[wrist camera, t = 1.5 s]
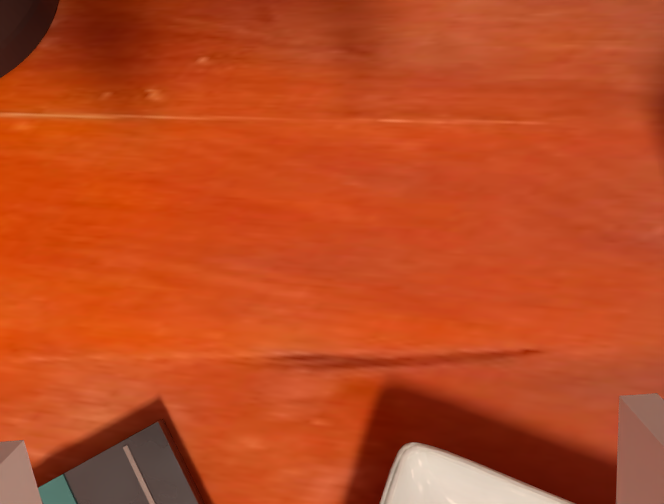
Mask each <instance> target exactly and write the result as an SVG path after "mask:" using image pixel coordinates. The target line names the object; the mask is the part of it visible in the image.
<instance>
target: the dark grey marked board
mask: <svg viewBox="0 0 664 504" xmlns="http://www.w3.org/2000/svg"><path fill="white" fill-rule="evenodd" d="M38 491H39V494H40V497H41V501H42V504H205V503H204V501H203V499H202V497H201V495H200V493H199V491H198V489H197V487H196V485H195V483H194V481H193V479H192V477H191V475H190V473H189V471H188V469H187V467H186V465H185V463H184V461H183V459H182V457H181V454H180V452H179V450H178V448H177V446H176V444H175V442H174V440H173V438H172V436H171V434H170V432H169V430H168V428H167V426H166V424H165V422H164V420H163V419H162V420H160V421H158V422H156V423H154V424H153V425H151V426H149V427H147V428H145V429H143V430H142V431H140V432H138V433H136V434H134V435H133V436H131V437H129V438H127V439H125V440H124V441H122V442H120V443H118V444H116V445H115V446H113V447H111V448H109V449H107V450H106V451H104V452H102V453H100V454H98V455H97V456H95V457H93V458H91V459H89V460H87V461H86V462H84V463H82V464H80V465H78V466H77V467H75V468H73V469H71V470H69V471H68V472H66V473H64V474H62V475H60V476H59V477H57V478H55V479H53V480H51V481H49V482H48V483H46V484H44V485H42V486H40V487H39V488H38Z"/></svg>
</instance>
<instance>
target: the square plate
mask: <svg viewBox="0 0 664 504" xmlns="http://www.w3.org/2000/svg"><path fill="white" fill-rule="evenodd" d="M379 504H575V503H573V502H571V501H568V500H566V499H563V498H561V497H558V496H556V495H553V494H551V493H549V492H546V491H544V490H541V489H539V488H536V487H534V486H532V485H529V484H527V483H524V482H522V481H520V480H517V479H515V478H512V477H510V476H508V475H505V474H503V473H500V472H498V471H496V470H493V469H491V468H488V467H486V466H484V465H481V464H479V463H476V462H474V461H471V460H469V459H466V458H464V457H461V456H459V455H456V454H454V453H451V452H449V451H446V450H443V449H440V448H437V447H434V446H430V445H426V444H422V443H418V442H410V443H407V444H405V445H403V446H402V447H401V448H400V450H399V451H398V453H397V455H396V457H395V460H394V462H393V464H392V466H391V469H390V472H389V475H388V478H387V481H386V484H385V487H384V490H383V494H382V497H381V500H380V503H379Z"/></svg>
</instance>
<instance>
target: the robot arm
mask: <svg viewBox="0 0 664 504" xmlns="http://www.w3.org/2000/svg"><path fill="white" fill-rule="evenodd" d="M57 5H58V0H0V78H1V77H2V76H4V75H5V74H7V73H8V72H10V71H11V70H12V69H14V68H15V67H16V66H18V65H19V64H20V63H21V62H22V61H23V60H24V59H25V58H26V57H27V56H28V55H29V54H30V53H31V52H32V51H33V50H34V49H35V48H36V46H37V45H38V44H39V42H40V41H41V40H42V38H43V37H44V35H45V33H46V32H47V30H48V28H49V26H50V24H51V22H52V20H53V17H54V14H55V12H56V8H57ZM0 504H42V501H41V497H40V494H39V491H38V487H37V484H36V480H35V477H34V474H33V470H32V467H31V463H30V460H29V457H28V453H27V450H26V446H25V443H24V440H20V441H6V442H0ZM616 504H664V400H663V399H662V398H661V397H660V396H659V395H658V394H657V393H655V394H641V395H628V396H619V422H618V454H617V486H616Z"/></svg>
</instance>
